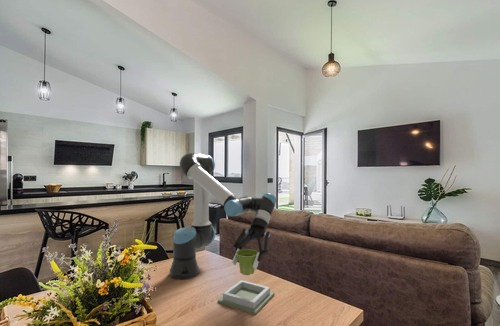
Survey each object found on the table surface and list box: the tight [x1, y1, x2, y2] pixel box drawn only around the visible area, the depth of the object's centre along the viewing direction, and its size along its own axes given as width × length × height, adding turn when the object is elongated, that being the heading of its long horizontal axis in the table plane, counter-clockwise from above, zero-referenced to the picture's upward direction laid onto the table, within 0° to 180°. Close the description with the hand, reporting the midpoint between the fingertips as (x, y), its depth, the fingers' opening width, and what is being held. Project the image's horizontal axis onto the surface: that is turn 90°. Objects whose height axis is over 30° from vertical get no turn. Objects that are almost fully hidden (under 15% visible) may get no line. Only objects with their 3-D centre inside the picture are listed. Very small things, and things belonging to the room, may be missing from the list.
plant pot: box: [237, 248, 258, 276], centre depth 112 cm, size 9×9×9 cm
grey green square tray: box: [217, 279, 275, 315], centre depth 112 cm, size 18×18×4 cm
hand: (243, 265), depth 109 cm, fingers closed on plant pot, 9 cm apart
